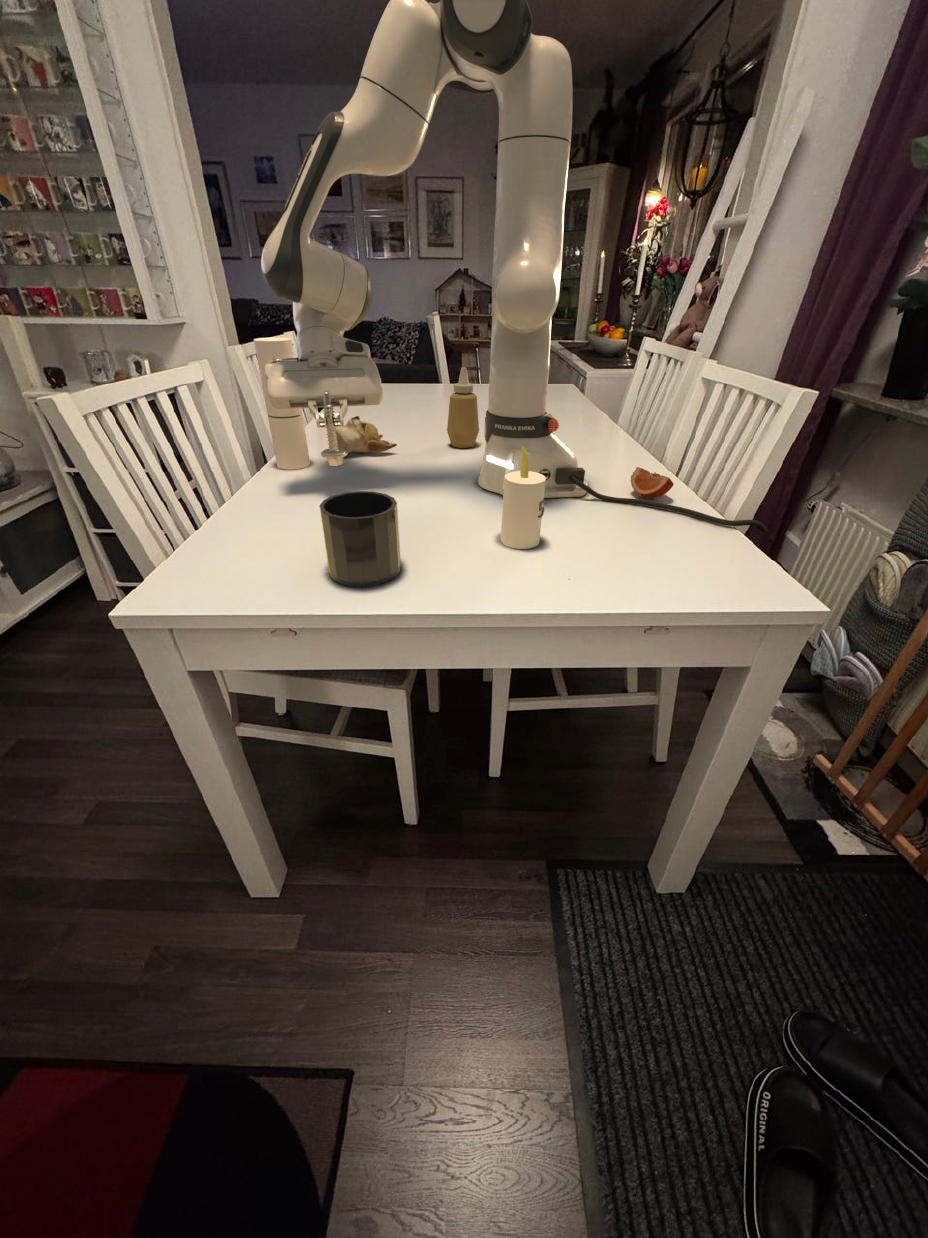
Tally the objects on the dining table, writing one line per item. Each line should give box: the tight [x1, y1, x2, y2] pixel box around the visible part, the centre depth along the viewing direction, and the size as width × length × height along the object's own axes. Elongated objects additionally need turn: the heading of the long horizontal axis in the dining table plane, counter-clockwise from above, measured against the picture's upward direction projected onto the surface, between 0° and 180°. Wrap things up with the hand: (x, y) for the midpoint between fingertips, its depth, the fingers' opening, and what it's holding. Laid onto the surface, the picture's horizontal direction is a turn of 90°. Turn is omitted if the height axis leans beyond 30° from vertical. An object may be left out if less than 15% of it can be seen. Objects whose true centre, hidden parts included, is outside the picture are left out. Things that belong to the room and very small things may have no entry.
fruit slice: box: [630, 466, 674, 500], centre depth 101 cm, size 8×7×5 cm
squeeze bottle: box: [446, 366, 480, 449], centre depth 127 cm, size 8×8×18 cm
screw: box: [320, 390, 349, 467], centre depth 94 cm, size 13×5×5 cm
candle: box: [500, 446, 546, 550], centre depth 81 cm, size 6×6×15 cm
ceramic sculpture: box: [335, 415, 398, 454], centre depth 123 cm, size 11×9×15 cm
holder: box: [318, 490, 402, 588], centre depth 73 cm, size 10×10×10 cm
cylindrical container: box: [253, 336, 311, 471], centre depth 110 cm, size 7×7×25 cm
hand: (330, 425), depth 94 cm, fingers closed on screw, 2 cm apart
